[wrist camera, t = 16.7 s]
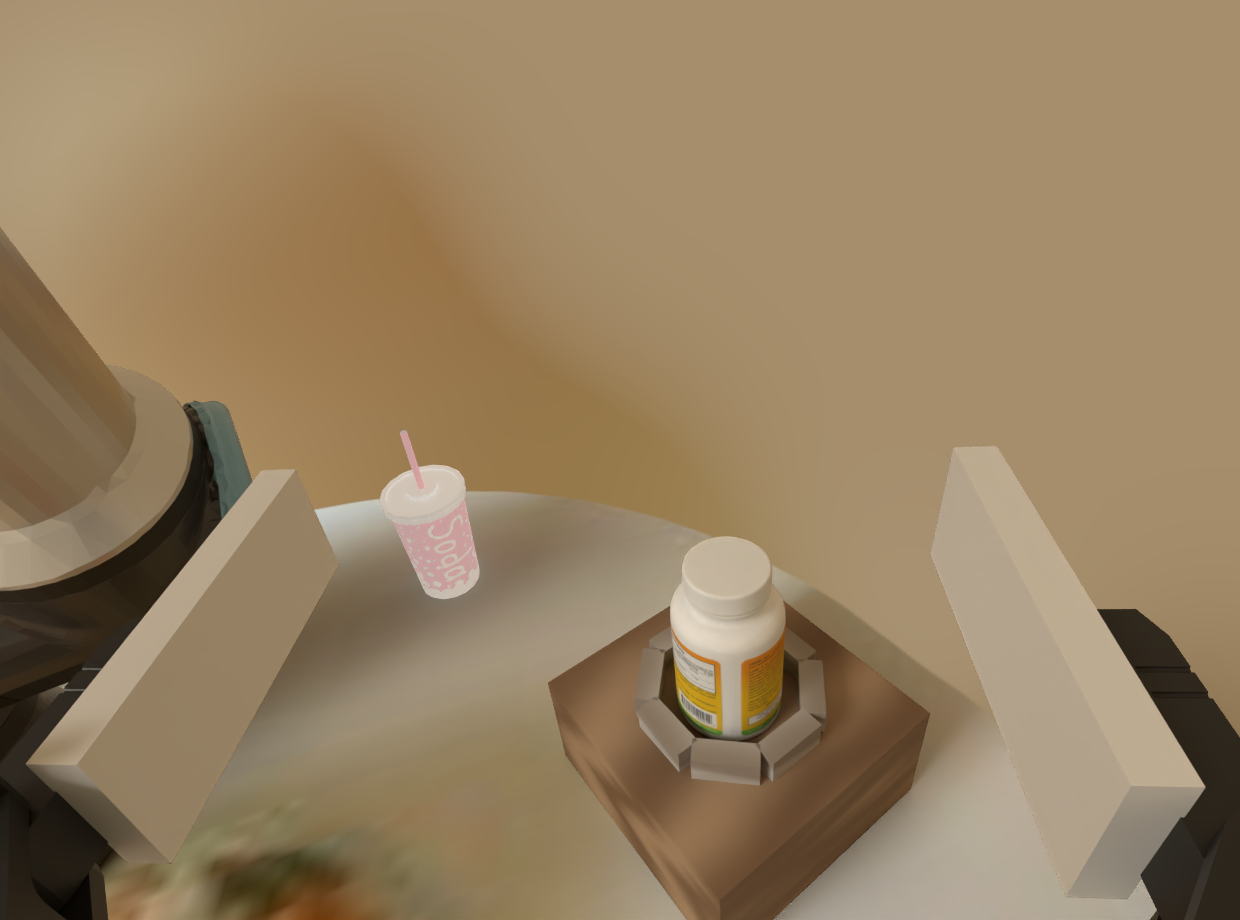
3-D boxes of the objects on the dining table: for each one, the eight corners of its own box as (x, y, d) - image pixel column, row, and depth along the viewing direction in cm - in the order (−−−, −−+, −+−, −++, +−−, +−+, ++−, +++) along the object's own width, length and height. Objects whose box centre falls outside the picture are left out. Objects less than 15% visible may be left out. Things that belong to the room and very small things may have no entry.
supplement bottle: (775, 656, 39) (781, 523, 34) (787, 745, 35) (796, 609, 29) (677, 657, 40) (667, 526, 34) (676, 745, 35) (664, 611, 30)
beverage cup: (416, 616, 54) (359, 467, 46) (409, 564, 59) (356, 421, 51) (495, 591, 55) (453, 443, 47) (482, 543, 60) (442, 400, 52)
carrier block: (565, 754, 43) (543, 665, 38) (735, 637, 49) (735, 547, 44) (721, 967, 34) (719, 883, 29) (910, 789, 40) (934, 694, 35)
